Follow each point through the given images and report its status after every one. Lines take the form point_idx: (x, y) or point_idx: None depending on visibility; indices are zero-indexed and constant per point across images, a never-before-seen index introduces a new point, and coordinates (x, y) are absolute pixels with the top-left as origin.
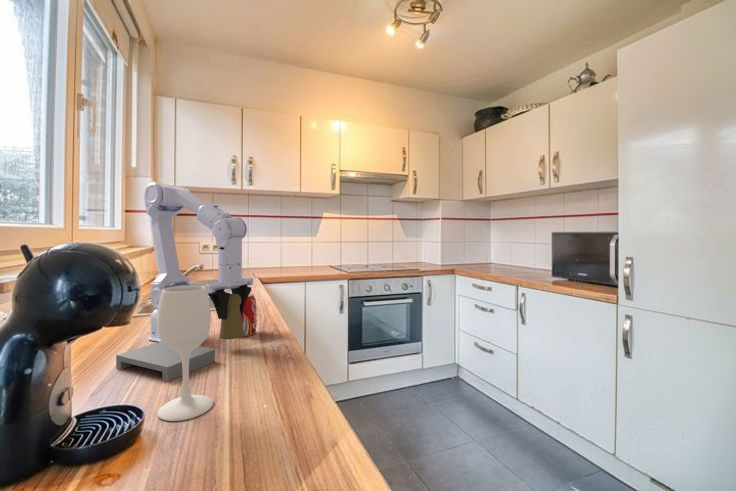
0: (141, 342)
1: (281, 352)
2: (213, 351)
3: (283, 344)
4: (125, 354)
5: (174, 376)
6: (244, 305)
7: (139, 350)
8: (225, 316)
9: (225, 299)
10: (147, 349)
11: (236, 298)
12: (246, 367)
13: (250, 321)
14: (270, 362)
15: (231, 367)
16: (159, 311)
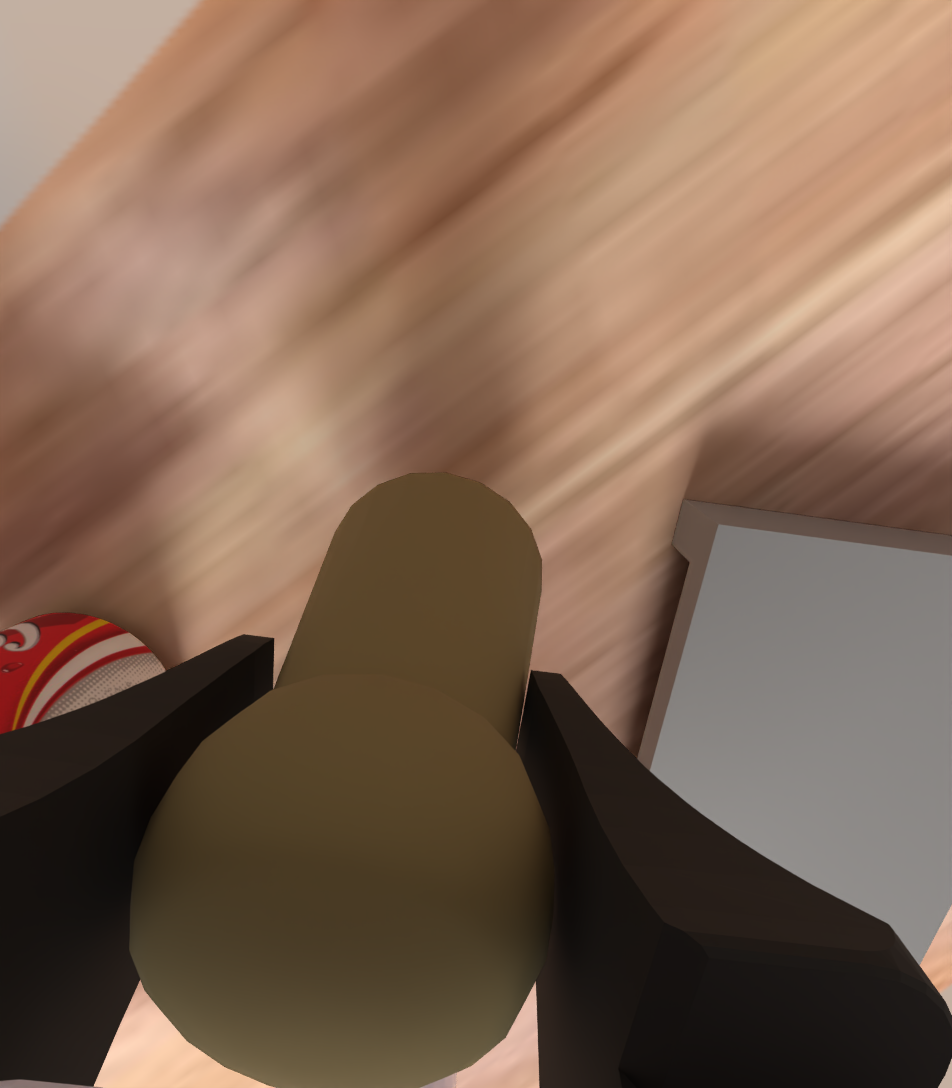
0: (489, 1080)
1: (346, 83)
2: (728, 521)
3: (153, 200)
4: None
5: None
6: (164, 676)
7: None
8: (560, 683)
9: (712, 854)
10: None
11: (398, 772)
12: (742, 185)
13: (23, 673)
14: (600, 33)
15: (759, 309)
16: None
